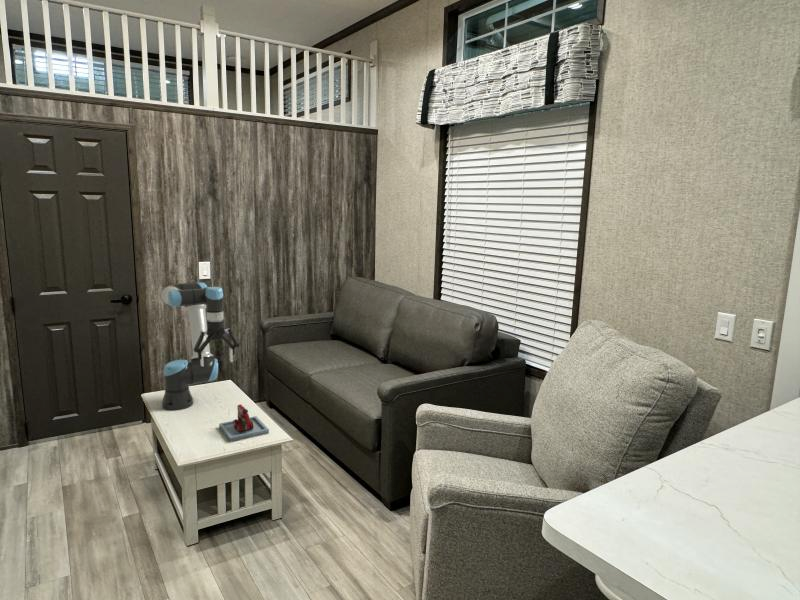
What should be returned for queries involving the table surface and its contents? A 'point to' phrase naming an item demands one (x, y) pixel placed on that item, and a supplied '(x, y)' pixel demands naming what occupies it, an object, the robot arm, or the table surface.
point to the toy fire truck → (242, 420)
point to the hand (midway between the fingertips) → (216, 363)
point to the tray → (235, 435)
